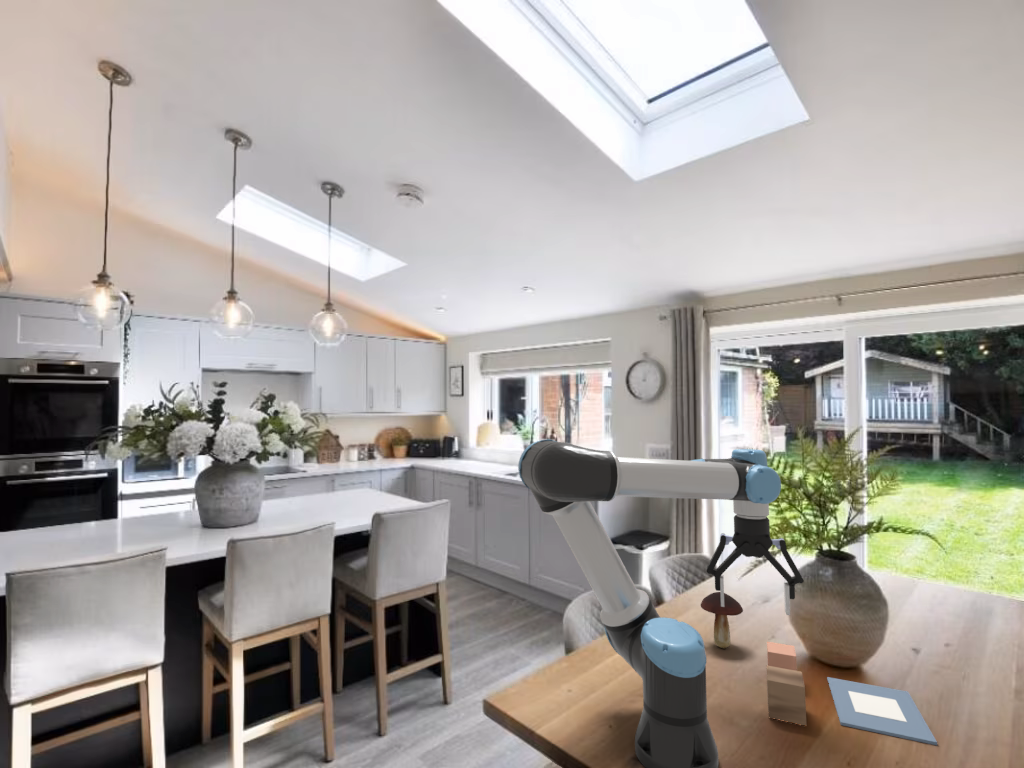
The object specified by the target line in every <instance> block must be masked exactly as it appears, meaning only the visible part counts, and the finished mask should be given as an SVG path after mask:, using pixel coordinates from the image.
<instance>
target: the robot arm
mask: <svg viewBox="0 0 1024 768" xmlns="http://www.w3.org/2000/svg"><path fill="white" fill-rule="evenodd" d="M517 467H518V468H517V469H518V475H519V478H520V480H521V482H522V484H523V485H524V486H525V487H526V488H527V489H529V490H530V492H531V493H532V495H533V497H534V499H535V500H536V502H537V505H538V506H539V508H540V510H541V511H542V513H543V514H546V515H549V516H552V517H553V519H554V521H555V522H556V524H557V527H558V528H559V530H560V532H561V534H562V535H563V538H564V540H565V541H566V543H567V545H568V546H569V547H568V548H569V549H570V550H571V552H572V554H573V556H574V558H575V559H576V562H577V563H578V566H579V567H580V569H581V571H582V573H583V575H584V576H585V579H586V580H587V582H588V584H589V586H590V587H591V589H592V592H593V594H594V595H595V597H596V598H597V601H598V603H599V604H600V606H601V611H600V615H599V616H600V620H601V623H602V625H603V626H604V633H605V636H606V638H607V640H608V643H609V645H610V646H611V648H612V649H613V650H614V651H615V652H616V654H618V655H619V656H620V657H622V658H623V660H625V662H626V663H628V665H629V666H630V667H631V668H632V669H633V670H634V672H635V673H637V675H638V676H640V678H641V680H642V694H643V695H642V696H643V697H642V698H643V699H642V700H643V701H642V702H643V708H642V711H641V715H640V718H639V722H638V725H637V728H636V731H635V735H634V751H635V755H636V757H637V759H638V760H639V762H640V763H641V765H642V766H643V767H644V768H719V750H718V746H717V743H716V741H715V738H714V735H713V731H712V728H711V725H710V723H709V720H708V710H707V709H708V708H707V707H708V700H707V672H706V671H707V668H706V667H707V666H706V665H707V654H706V649H705V642H704V640H703V637H702V635H701V634H700V633H699V631H698V630H697V629H696V628H694V627H693V626H692V625H690V624H689V623H686V622H685V621H678V619H676V618H671V617H661V616H660V614H659V613H658V611H657V609H656V608H655V605H654V603H653V602H652V600H651V598H650V596H649V594H648V593H647V592H646V591H644V590H643V589H639V588H637V587H636V585H635V583H634V581H633V579H632V578H631V576H630V573H629V572H628V570H627V568H626V566H625V564H624V563H623V561H622V559H621V557H620V555H619V552H618V551H617V549H616V547H615V545H614V544H613V541H612V540H611V537H609V535H608V532H607V531H606V529H605V527H604V524H603V523H602V522H601V520H600V517H599V516H598V514H597V512H596V510H595V508H594V506H593V504H592V503H591V502H611V501H613V500H614V498H615V497H627V498H628V497H630V498H631V497H632V498H634V497H635V498H663V499H665V498H667V499H694V500H695V499H696V500H728V501H732V502H733V505H732V506H733V513H734V514H735V515H734V516H733V530H734V531H733V532H734V533H733V535H727V534H725V533H724V532H723V533H721V534H720V537H719V543H718V545H717V547H716V549H715V551H714V552H713V555H712V557H711V559H710V560H709V562H708V563H707V566H706V574H710V575H712V576H713V577H714V588H715V591H716V592H720V593H721V607H724V593H725V587H724V586H725V585H724V582H725V581H724V575H723V574H724V573H725V572H726V571H727V569H729V567H730V566H731V565H732V564H733V563H735V561H736V560H737V559H739V558H740V557H741V555H743V556H744V557H746V558H747V557H748V558H750V557H753V558H758V559H761V558H762V557H764V558H765V559H766V560H767V561H768V562H769V563H770V564H771V565H772V567H774V568H775V570H776V571H777V572H778V574H780V575H781V576H782V578H783V579H785V581H783V590H784V591H783V592H784V595H783V596H784V597H783V598H784V611H785V614H786V616H791V603H790V602H791V600H795V599H796V585H798V584H803V583H804V580H805V579H804V578H803V576H802V574H801V573H800V570H799V569H798V567H797V565H796V564H795V562H794V560H793V558H792V557H791V555H790V553H789V551H788V550H787V543H786V541H785V539H784V538H783V537H779V538H778V539H777V538H771V533H770V519H769V515H770V508H769V507H770V505H769V504H771V503H773V502H774V501H777V499H778V497H779V496H780V493H781V490H782V489H781V488H782V482H781V481H782V480H781V478H780V476H779V474H778V472H777V471H776V470H775V469H773V468H772V467H770V466H768V459H767V453H766V452H765V451H764V450H763V449H762V450H761V449H752V448H750V449H749V448H738V449H737V448H736V449H733V450H732V452H731V456H730V457H729V458H700V459H691V460H685V459H684V460H683V459H680V460H679V459H663V458H662V459H661V458H644V457H643V458H642V457H630V456H629V457H627V456H616V455H615V454H614V453H613V452H612V451H610V450H599V449H592V448H589V447H588V448H587V447H583V446H579V445H575V444H573V443H568V442H562V441H556V440H554V439H549V438H548V439H541V440H536V441H534V442H533V443H531V444H529V445H528V446H527V447H526V448H525V449H524V450H523V451H522V453H521V455H520V457H519V461H518V465H517ZM731 542H732V543H733V545H735V547H734V549H733V551H732V552H731V553H730V554H729V555H728V556H727V557H726V558H725V559H724V560H723V561H722V562H721V564H719V566H717V568H715V567H716V565H717V563H718V561H719V559H720V558H721V556H722V554H723V552H724V550H725V547H726V546H727V545H730V543H731ZM772 546H775V547H776V549H777V550H780V552H781V554H782V556H783V558H784V559H785V560H786V564H788V566H789V568H790V570H791V571H792V573H793V575H794V576H791V574H790V573H789V572H788V571H787V570H786V569H785V568H784V567H783V565H782V564H781V563H780V562H779V561H778V560H777V559H776V558H775V556H774V555H772V553H771V552H770V551H769V550H770V549H771V548H772Z"/></svg>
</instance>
